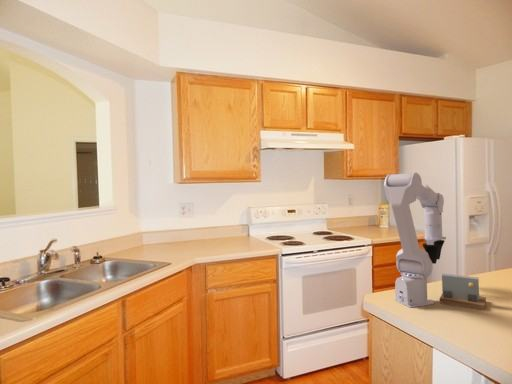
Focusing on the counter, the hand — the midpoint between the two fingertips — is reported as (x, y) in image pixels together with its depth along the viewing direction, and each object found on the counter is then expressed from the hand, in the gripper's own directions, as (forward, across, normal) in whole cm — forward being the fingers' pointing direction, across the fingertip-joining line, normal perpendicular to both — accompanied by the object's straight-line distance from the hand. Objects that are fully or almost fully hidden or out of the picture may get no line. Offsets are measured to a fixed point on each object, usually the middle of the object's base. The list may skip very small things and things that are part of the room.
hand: (434, 261), depth 118 cm
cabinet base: (+10, -11, -9) cm, 17 cm away
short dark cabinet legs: (+9, -11, -9) cm, 17 cm away
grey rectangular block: (+9, -11, -9) cm, 17 cm away
